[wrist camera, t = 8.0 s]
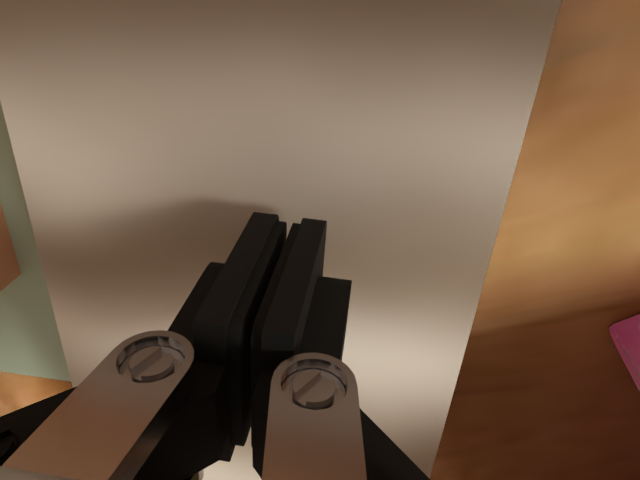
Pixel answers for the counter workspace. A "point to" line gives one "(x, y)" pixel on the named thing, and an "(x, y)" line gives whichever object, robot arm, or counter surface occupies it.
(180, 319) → the robot arm
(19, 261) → the mat
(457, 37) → the white flat block
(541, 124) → the counter surface
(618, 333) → the gum box
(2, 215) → the tile
